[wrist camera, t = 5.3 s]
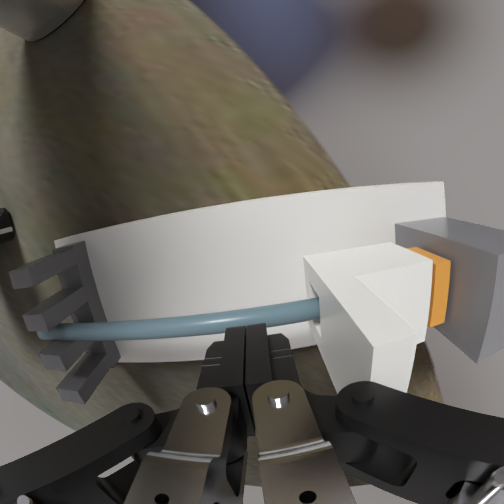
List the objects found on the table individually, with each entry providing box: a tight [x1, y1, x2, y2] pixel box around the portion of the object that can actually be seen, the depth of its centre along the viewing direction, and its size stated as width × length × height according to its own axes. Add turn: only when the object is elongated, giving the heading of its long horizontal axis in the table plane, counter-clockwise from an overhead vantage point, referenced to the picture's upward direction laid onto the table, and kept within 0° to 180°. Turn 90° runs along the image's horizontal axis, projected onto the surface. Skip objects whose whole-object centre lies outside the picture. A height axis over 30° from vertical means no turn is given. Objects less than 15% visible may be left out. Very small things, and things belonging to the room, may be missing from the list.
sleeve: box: [303, 242, 433, 395], centre depth 10 cm, size 4×5×8 cm
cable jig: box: [9, 182, 504, 404], centre depth 13 cm, size 10×28×10 cm, turn 99°
